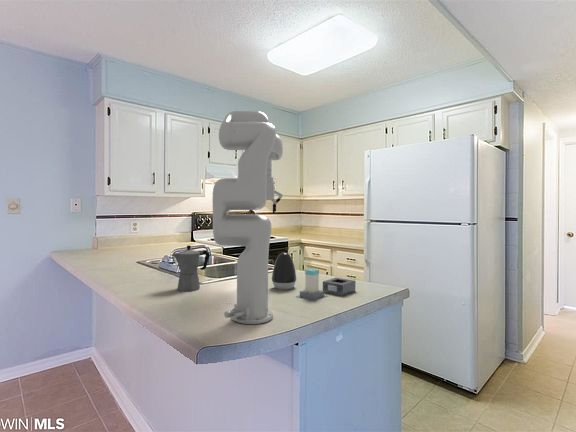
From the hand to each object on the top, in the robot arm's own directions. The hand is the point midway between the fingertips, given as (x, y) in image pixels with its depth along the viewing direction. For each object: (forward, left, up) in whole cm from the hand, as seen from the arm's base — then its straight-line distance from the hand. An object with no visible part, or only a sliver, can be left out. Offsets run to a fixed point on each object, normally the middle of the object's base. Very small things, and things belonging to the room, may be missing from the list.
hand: (262, 213), depth 146 cm
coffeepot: (-25, +16, -31) cm, 43 cm away
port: (+9, -34, -31) cm, 47 cm away
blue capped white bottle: (-4, -30, -31) cm, 43 cm away
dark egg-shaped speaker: (0, -13, -31) cm, 34 cm away
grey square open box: (-4, -30, -31) cm, 43 cm away
